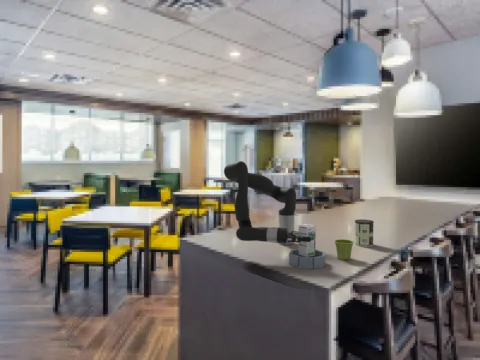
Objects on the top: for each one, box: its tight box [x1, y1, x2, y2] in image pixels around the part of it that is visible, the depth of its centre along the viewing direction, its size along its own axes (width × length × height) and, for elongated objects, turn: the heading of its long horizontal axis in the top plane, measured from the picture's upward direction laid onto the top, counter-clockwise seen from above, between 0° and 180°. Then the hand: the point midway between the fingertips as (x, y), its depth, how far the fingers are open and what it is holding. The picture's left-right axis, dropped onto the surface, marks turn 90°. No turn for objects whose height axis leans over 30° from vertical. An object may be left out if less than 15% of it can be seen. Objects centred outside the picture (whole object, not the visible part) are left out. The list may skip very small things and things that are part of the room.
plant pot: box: [334, 238, 355, 261], centre depth 168 cm, size 9×9×9 cm
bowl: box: [288, 248, 326, 270], centre depth 160 cm, size 16×16×5 cm
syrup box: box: [298, 223, 317, 257], centre depth 159 cm, size 6×6×14 cm
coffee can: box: [354, 219, 375, 248], centre depth 195 cm, size 10×10×14 cm
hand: (311, 237), depth 159 cm, fingers closed on syrup box, 7 cm apart
